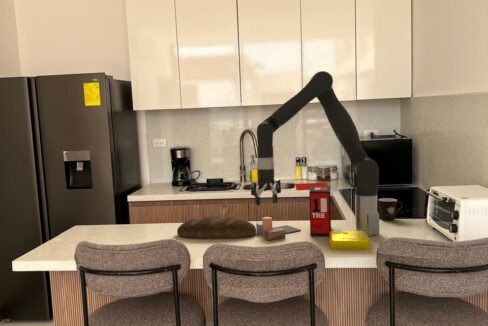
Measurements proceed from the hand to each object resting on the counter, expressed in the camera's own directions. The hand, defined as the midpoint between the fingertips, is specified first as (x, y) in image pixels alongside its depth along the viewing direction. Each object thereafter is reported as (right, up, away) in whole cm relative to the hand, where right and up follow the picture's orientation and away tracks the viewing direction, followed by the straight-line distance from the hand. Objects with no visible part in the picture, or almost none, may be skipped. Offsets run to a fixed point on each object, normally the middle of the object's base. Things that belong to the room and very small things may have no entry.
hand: (266, 204), depth 184 cm
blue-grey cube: (-1, -14, +7) cm, 16 cm away
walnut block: (+4, -15, -4) cm, 16 cm away
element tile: (+32, -15, -16) cm, 39 cm away
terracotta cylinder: (+1, -14, +1) cm, 14 cm away
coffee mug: (+63, -10, +23) cm, 68 cm away
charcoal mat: (+10, -13, +10) cm, 19 cm away
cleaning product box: (+25, -13, +5) cm, 29 cm away
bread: (-22, -15, +6) cm, 28 cm away
